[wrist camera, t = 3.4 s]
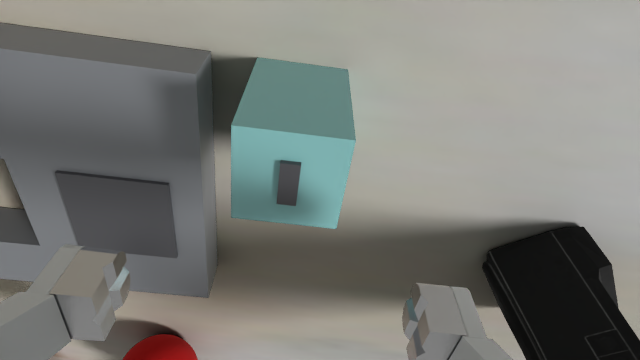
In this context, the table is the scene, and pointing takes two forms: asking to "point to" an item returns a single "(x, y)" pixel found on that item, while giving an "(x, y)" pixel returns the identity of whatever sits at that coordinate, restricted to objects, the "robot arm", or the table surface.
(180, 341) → the molecular model
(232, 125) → the block
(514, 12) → the table surface
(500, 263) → the portable radio
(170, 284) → the outlet plate
